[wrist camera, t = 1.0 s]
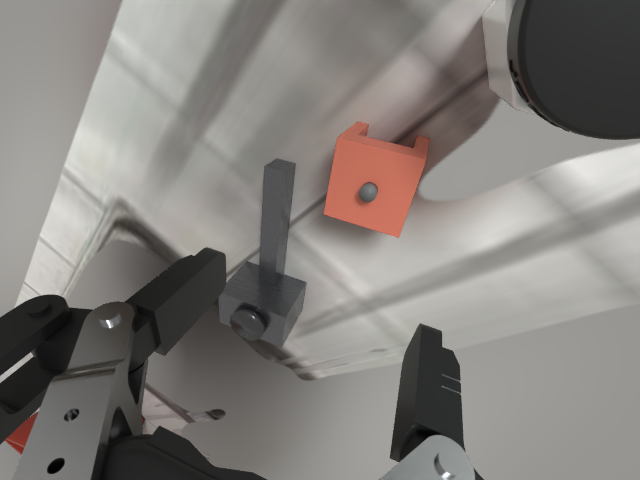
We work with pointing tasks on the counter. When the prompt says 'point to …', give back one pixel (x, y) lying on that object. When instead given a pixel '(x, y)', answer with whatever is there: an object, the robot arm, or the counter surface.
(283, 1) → the counter surface
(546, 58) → the jar
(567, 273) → the counter surface
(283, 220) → the coupler
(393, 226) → the notched red block
